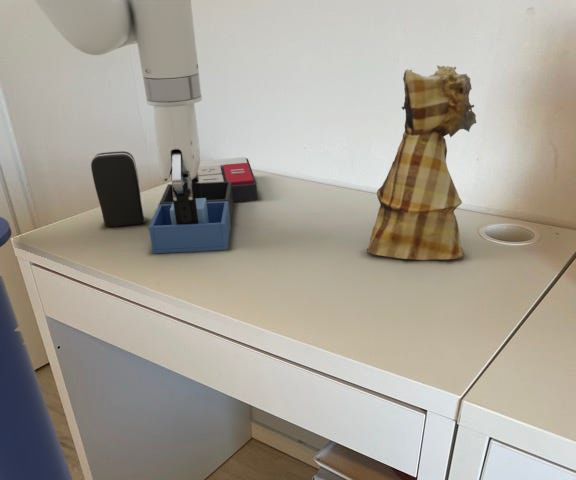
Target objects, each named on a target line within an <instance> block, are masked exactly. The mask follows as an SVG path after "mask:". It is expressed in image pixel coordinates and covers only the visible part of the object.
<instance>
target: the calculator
mask: <svg viewBox="0 0 576 480" xmlns="http://www.w3.org/2000/svg"><path fill="white" fill-rule="evenodd" d="M198 176H199V182H196V183H207V182H227V181H232V191H233V202H234V203H239V202H247V201H248V202H249V201H257V200H258V199H259V198H258V186H257V185H258V184H257V181H256V178H255V175H254V172H253V169H252V166H251V164H250V161H249V159H248V158H247V157H245V156H240V157H227V158H216V159H206V160H200V165H199V169H198Z"/></svg>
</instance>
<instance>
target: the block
mask: <svg viewBox="0 0 576 480" xmlns="http://www.w3.org/2000/svg"><path fill="white" fill-rule="evenodd" d="M195 199H196V207H197V215H198V224H202V223H209V219H208V211H207V202H206V198H195ZM170 216H171V222H172V225H177V224H176V217H175V211H174V204H173V203H172V206H171V208H170Z"/></svg>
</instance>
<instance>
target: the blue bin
mask: <svg viewBox="0 0 576 480" xmlns="http://www.w3.org/2000/svg"><path fill="white" fill-rule="evenodd" d="M171 206H172V204H163V205H162V204H159V203H158V206H157V208H156V210H155V212H154V213H153V216H152V219H151V221H150V223H149V225H148V233H149V238H150V243H151V249H152V254H171V253H172V254H173V253H192V252H211V251H213V252H215V251H227V250H228V248H229V242H230V235H231V234H230V233H231V227H232V222H231V223H230V213H229V202H228V201H219V202H207V211H208V219H209V223H202V224H181V225H172V222H171V216H170V208H171Z"/></svg>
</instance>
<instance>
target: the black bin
mask: <svg viewBox="0 0 576 480" xmlns="http://www.w3.org/2000/svg"><path fill="white" fill-rule="evenodd" d="M200 186H201V194H202V198H206V202H219V201H228V202H229V213H230V223H231V224H232V220H233V219H232V218H233V212H234V204H235V202H233V191H232V181H227V182H207V183H200ZM172 203H173V191H172V183H170V184H169V183H168V184H167V186H166V188H165V190H164V192H163V194H162V196H161V199H160V201H159V203H158V205H159V204H162V205H163V204H172Z"/></svg>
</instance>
